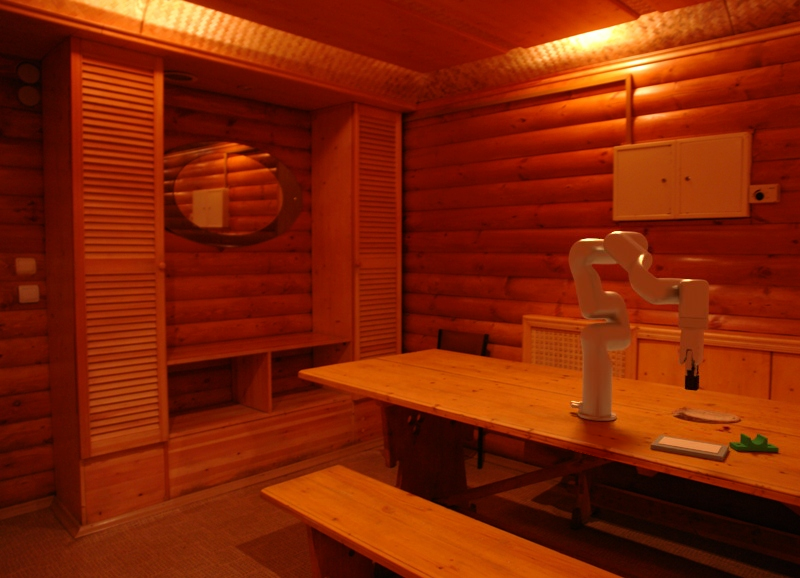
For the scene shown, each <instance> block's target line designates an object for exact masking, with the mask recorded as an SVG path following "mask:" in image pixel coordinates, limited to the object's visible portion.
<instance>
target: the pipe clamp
mask: <svg viewBox="0 0 800 578" xmlns="http://www.w3.org/2000/svg"><path fill="white" fill-rule="evenodd" d="M768 441H769V438H768V437H766V436H764V435H762V434H761V433H756V436H755V437H754V438H753V439H752V438H751V437H750V435H747V434H745V433H740V441H738V442H737V441H736V442H734V441H733V442H732V441H730V442H729V443H728V444H729V445H728V446H729V448H732V449H733V450H735V451H740V452H741V451H743V452H765V453H766V452H770V453H779V450H780V448H779V447H777V446H776V445H774V444H772V443H769V442H768Z"/></svg>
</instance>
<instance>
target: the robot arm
mask: <svg viewBox="0 0 800 578" xmlns="http://www.w3.org/2000/svg"><path fill="white" fill-rule="evenodd" d="M648 248H649V243H648V240H647V238H646V236H644V234H642V233H640V232H636V231H613V232H611V233H607V234H606V236H605V237H604V239H602V238H600V239H599V238H584V239H579V240H578V241H576V242H574V244H573V245H572V246H571V248H570V250H569V252H568V253H569V254H568V265H569V269H570V272H571V274H572V277H573V281H574V287H575V293H576V296H577V301H578V306H579V311H580V314H581V316H582V318H584V319H586V320H604V321H605V322H593V323H589V324H587V325H585V326H584V327H583V328H582V329H581V331H580V334H579V335H580V336H579V340H580V345H581V350H582V351H581V352H582V391H581V393H582V395H581V398H582V399H581V401H579V402H578V401H574V400H571V401H570V403H569V405H570V407H571V408H572V409H573V408H574V409H578V410H577V412H576V414H577V416H578V417H579V418H582V419H585V420H589V421H595V422H596V421H597V422H607V421H608V422H609V421H610V422H611V421H614V420H616V419H617V414H616V412H613V407H612V405H613V362H612V359H611V357H610V354H609V352H611V351H613V352H614V351H623V350H626V349H627V348H629V346H630V345H631V342H632V330H631V325H630V319H629V314H628V308H627V304H626V302H625V300H624V298H623V296H622V295H621V294H619V293H618V292H616V291H605V290H603V286H602V280H601V277H600V275H599V272H597V270H596V269H595V268H594V266H592V265H617V264H618V265H620V267H622V269H624V270H625V271H626V272H627V273H628V280H629V284H630V286H631V288H632V290H633V291H634V292H635V293H636V294H637V295H639V296H640V297H641V298H642V299H644V301H646V302H648V303H650V304H652V305H678V323H677V327H678V328H677V329H678V330H681V331H680V337H679V351H678V364H679V365H683V364H685V367H684V368H685V374H684V390H685V391H695V392H696V391H698V390H699V388H700V364H702V363H703V361H704V351H705V350H704V347H705V337H704V336H705V331H708V330H709V313H710V312H709V310H710V309H709V306H710V283H709V282H708V281H707V280H706V279H686V278H679V277H678V278H677V277H676V278H675V277H674V278H673V277H665V278H664V277H663V278H662V277H659V278H657V277H656V276H654V275H653V274H652V273H651V272H649V269H650V268H651V266H652V264H653V256H652V253H650V252H648Z"/></svg>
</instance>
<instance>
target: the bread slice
mask: <svg viewBox="0 0 800 578" xmlns="http://www.w3.org/2000/svg"><path fill="white" fill-rule="evenodd" d="M670 415H672V417H674V418H676V419H679V420H683V421H690V422H694V423H695V422H696V423H706V424H735V423H736V424H737V423H740V422H741V421H742V419H741V418H740V416H738V415H736V414H733V413H730V412H729V413H728V412H724V411H723V412H722V411H716V410H711V409H710V410H709V409H699V408H691V407H687V406H684V407H679V408H677V409H675V410H673V411H672V412H671V413H670Z"/></svg>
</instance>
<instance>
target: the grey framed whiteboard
mask: <svg viewBox="0 0 800 578" xmlns="http://www.w3.org/2000/svg"><path fill="white" fill-rule="evenodd" d="M650 450H655V451H661V452H667V453H674V454H679V455H685V456H692V457H695V458H696V457H697V458H701V459H702V458H703V459H708V460H713V461H717V462H718V461H719V462H723V461H724V460H725V458H726V456H727V454H728V452H729V450H730V446H729V445H726V444H719V443H714V442H707V441H701V440H700V441H699V440H694V439H689V438H684V437H683V438H682V437H676V436H670V435H663V434H659V435H658V437H657V438H656V439H655V440H654V441H653V442H652V443H651V444H650Z"/></svg>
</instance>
